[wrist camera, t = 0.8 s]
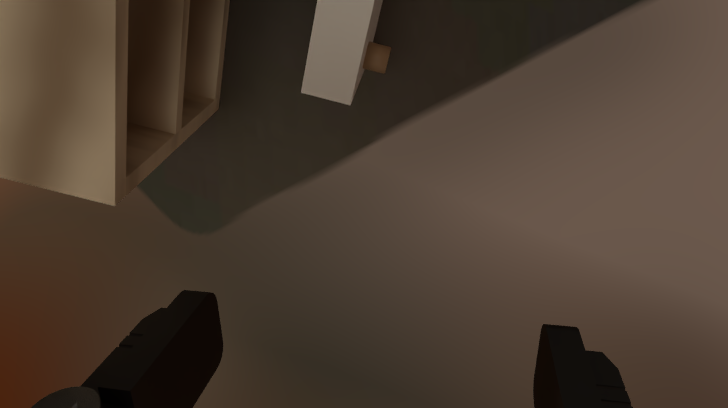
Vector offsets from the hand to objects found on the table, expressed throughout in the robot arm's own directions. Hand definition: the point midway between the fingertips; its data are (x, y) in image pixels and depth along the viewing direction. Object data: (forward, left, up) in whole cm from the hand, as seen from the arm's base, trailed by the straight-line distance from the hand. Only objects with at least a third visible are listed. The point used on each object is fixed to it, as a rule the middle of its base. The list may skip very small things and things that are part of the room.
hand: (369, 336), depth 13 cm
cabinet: (-12, +3, -24) cm, 27 cm away
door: (-4, +7, -24) cm, 25 cm away
